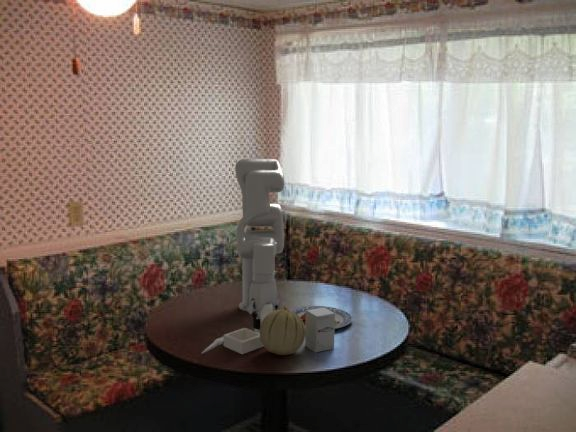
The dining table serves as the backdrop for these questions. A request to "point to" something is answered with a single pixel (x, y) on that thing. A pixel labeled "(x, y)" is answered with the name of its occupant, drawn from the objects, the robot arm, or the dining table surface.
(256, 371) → the dining table surface
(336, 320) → the ceramic plate
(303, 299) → the dining table surface
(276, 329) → the cantaloupe
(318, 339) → the supplement box
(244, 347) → the can holder
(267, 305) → the can
